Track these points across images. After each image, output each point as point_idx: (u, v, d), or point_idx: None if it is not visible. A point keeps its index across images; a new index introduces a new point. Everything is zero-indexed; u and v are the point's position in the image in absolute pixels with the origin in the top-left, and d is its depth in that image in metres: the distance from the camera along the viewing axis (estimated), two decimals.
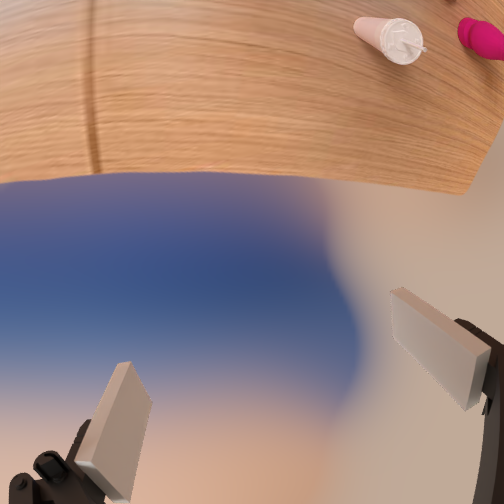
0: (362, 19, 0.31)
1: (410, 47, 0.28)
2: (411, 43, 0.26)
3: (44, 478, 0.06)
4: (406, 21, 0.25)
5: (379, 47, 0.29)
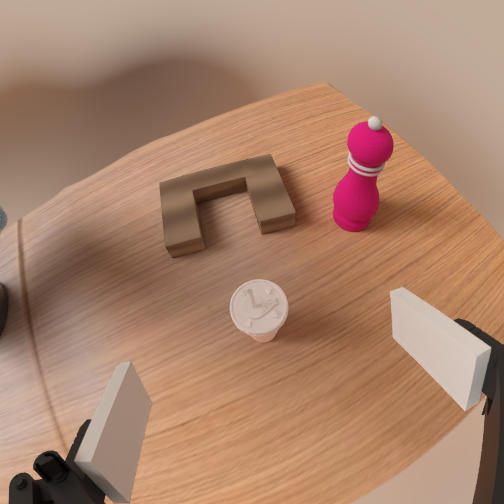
0: None
1: (267, 302, 0.33)
2: (249, 300, 0.31)
3: (44, 478, 0.06)
4: (240, 287, 0.34)
5: None
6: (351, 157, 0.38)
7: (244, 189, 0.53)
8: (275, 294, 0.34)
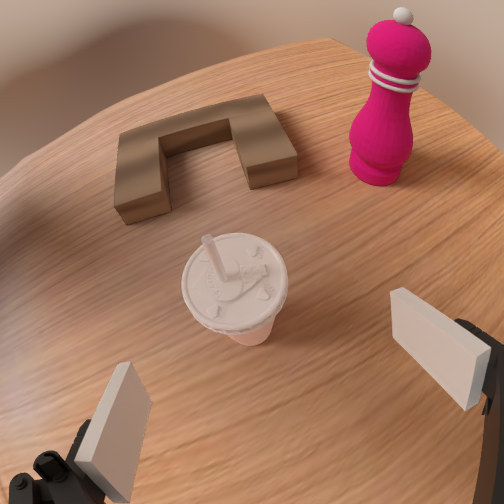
0: None
1: (249, 272, 0.18)
2: (211, 263, 0.16)
3: (44, 478, 0.06)
4: (201, 247, 0.19)
5: None
6: (374, 67, 0.23)
7: (228, 137, 0.38)
8: (263, 257, 0.19)
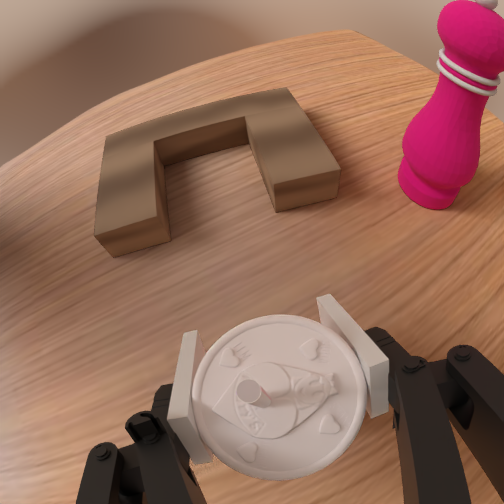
0: None
1: (307, 390, 0.10)
2: None
3: (134, 438, 0.08)
4: (222, 340, 0.11)
5: None
6: (447, 58, 0.14)
7: (244, 141, 0.30)
8: (328, 359, 0.10)
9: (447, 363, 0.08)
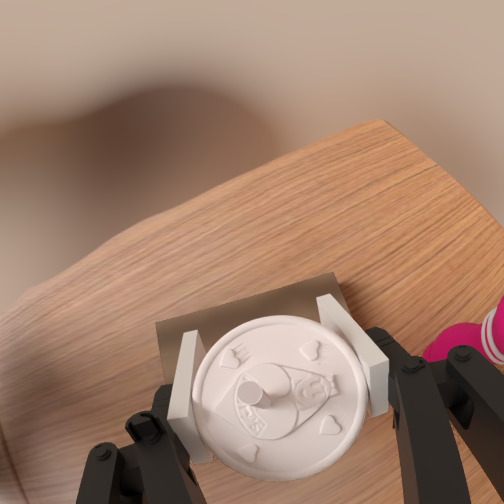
0: None
1: (307, 391, 0.10)
2: None
3: (134, 438, 0.08)
4: (223, 341, 0.11)
5: None
6: (492, 339, 0.18)
7: None
8: (329, 360, 0.10)
9: (447, 363, 0.08)
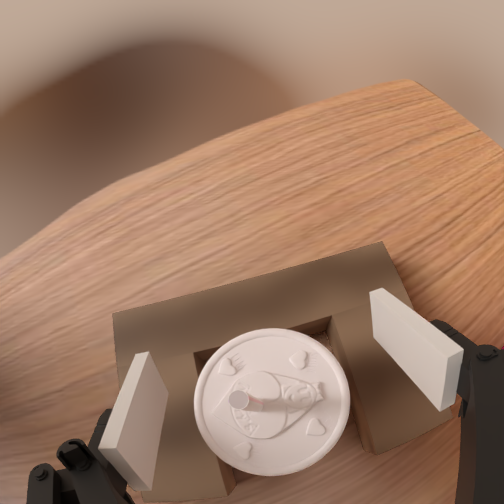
0: None
1: (295, 396, 0.11)
2: None
3: (67, 466, 0.07)
4: (221, 351, 0.12)
5: None
6: None
7: (320, 330, 0.22)
8: (315, 369, 0.12)
9: None
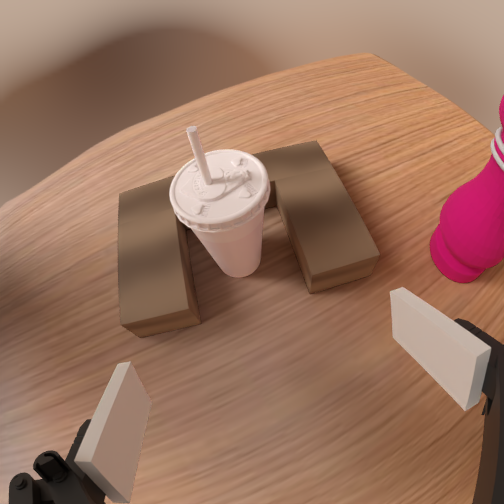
0: None
1: (232, 176, 0.19)
2: (196, 160, 0.17)
3: (44, 478, 0.06)
4: (190, 162, 0.20)
5: (210, 236, 0.19)
6: None
7: (272, 203, 0.29)
8: (246, 165, 0.20)
9: None
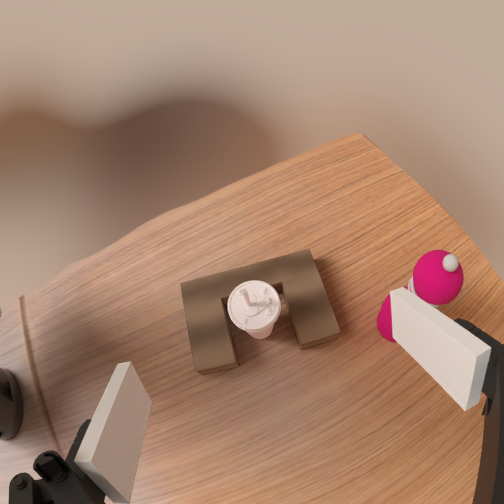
0: None
1: (261, 301, 0.37)
2: (244, 299, 0.35)
3: (44, 478, 0.06)
4: (237, 288, 0.38)
5: None
6: (413, 289, 0.31)
7: (279, 291, 0.47)
8: (268, 293, 0.37)
9: None
